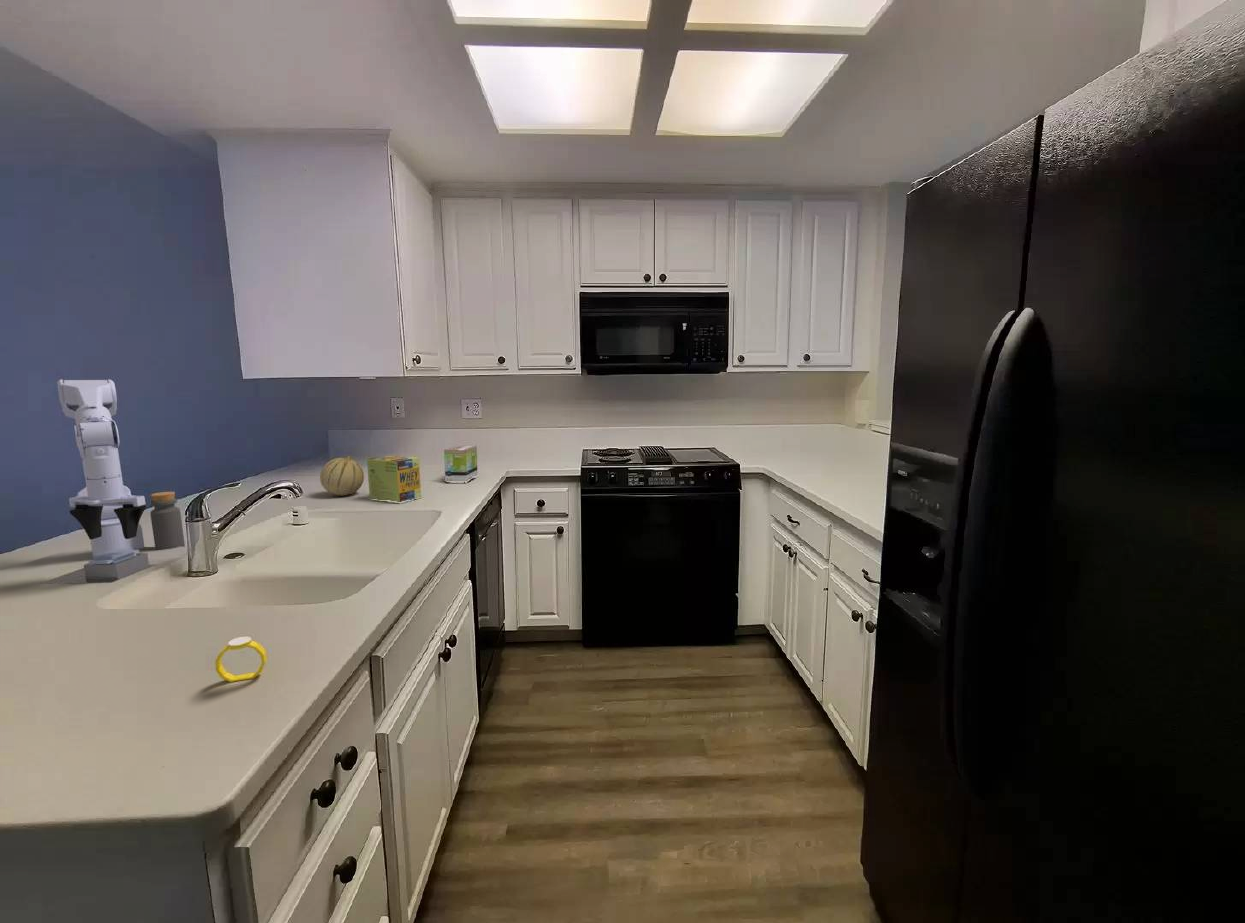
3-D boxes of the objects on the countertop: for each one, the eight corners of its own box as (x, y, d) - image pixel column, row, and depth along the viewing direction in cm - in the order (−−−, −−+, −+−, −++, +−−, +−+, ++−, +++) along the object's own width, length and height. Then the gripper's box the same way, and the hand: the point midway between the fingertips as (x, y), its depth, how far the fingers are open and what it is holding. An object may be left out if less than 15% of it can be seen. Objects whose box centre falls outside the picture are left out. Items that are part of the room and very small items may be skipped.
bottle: (182, 544, 142) (174, 490, 140) (187, 549, 138) (180, 492, 136) (153, 550, 137) (145, 493, 135) (158, 554, 134) (150, 496, 131)
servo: (125, 567, 122) (121, 546, 121) (142, 567, 122) (139, 546, 121) (91, 580, 114) (87, 557, 113) (110, 580, 114) (106, 557, 113)
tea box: (468, 483, 225) (466, 449, 223) (444, 483, 225) (442, 449, 223) (478, 477, 240) (476, 445, 238) (456, 477, 240) (454, 445, 238)
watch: (269, 671, 80) (268, 634, 79) (263, 681, 77) (262, 642, 76) (221, 676, 78) (219, 638, 77) (214, 686, 75) (212, 647, 74)
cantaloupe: (317, 495, 203) (313, 456, 201) (357, 489, 213) (354, 453, 211) (329, 501, 193) (325, 460, 191) (371, 495, 203) (368, 456, 201)
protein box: (400, 504, 188) (396, 461, 185) (369, 500, 194) (365, 458, 192) (422, 498, 197) (419, 457, 195) (392, 495, 204) (389, 455, 201)
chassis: (91, 569, 123) (88, 551, 123) (156, 568, 124) (153, 550, 123) (40, 587, 112) (37, 568, 112) (112, 586, 113) (109, 567, 112)
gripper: (50, 480, 111) (61, 543, 113) (120, 480, 111) (130, 543, 113) (83, 474, 118) (93, 534, 120) (149, 474, 118) (158, 533, 120)
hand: (113, 537), depth 117 cm, fingers open, 7 cm apart
